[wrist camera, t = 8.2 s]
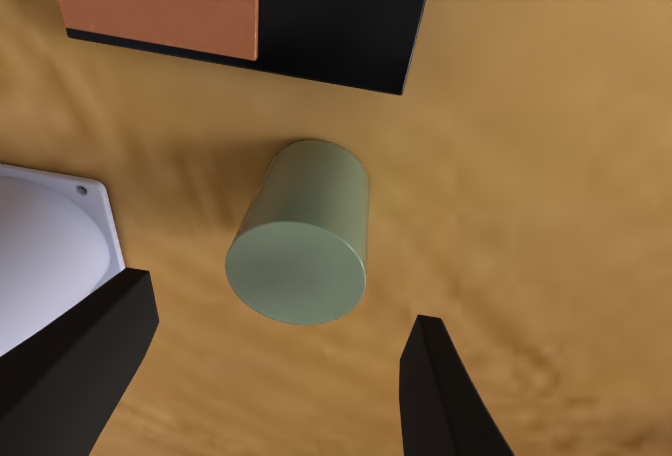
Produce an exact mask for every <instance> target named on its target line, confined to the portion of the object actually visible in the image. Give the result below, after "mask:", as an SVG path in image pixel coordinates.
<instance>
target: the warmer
mask: <svg viewBox="0 0 672 456" xmlns="http://www.w3.org/2000/svg"><path fill="white" fill-rule="evenodd" d="M425 2H426V0H259V3H258V48H257V59H256V60H255V61H254V60H248V59H242V58H236V57H231V56H225V55H219V54H214V53H208V52H202V51H196V50H191V49H185V48H179V47H174V46H168V45H162V44H156V43H151V42H145V41H139V40H134V39H128V38H122V37H116V36H111V35H105V34H99V33H94V32H88V31H82V30H76V29H71V28H66V31H67V35H68V37H69V38H73V39H79V40H85V41H90V42H96V43H102V44H108V45H113V46H119V47H125V48H131V49H136V50H142V51H148V52H153V53H159V54H165V55H171V56H176V57H182V58H188V59H194V60H199V61H205V62H211V63H216V64H222V65H228V66H234V67H239V68H245V69H251V70H257V71H262V72H268V73H274V74H279V75H285V76H291V77H297V78H302V79H308V80H314V81H320V82H325V83H331V84H337V85H343V86H348V87H354V88H360V89H365V90H371V91H377V92H383V93H388V94H394V95H402V94H403V91H404V87H405V83H406V79H407V75H408V71H409V67H410V63H411V59H412V55H413V51H414V47H415V43H416V39H417V35H418V31H419V26H420V22H421V18H422V14H423V10H424V6H425Z"/></svg>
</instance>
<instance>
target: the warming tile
mask: <svg viewBox="0 0 672 456" xmlns="http://www.w3.org/2000/svg"><path fill="white" fill-rule="evenodd" d="M58 3H59V7H60V11H61V16H62V20H63V24H64V27H65V28H71V29H76V30H82V31H88V32H94V33H99V34H105V35H111V36H116V37H122V38H128V39H134V40H139V41H145V42H151V43H156V44H162V45H168V46H174V47H179V48H185V49H191V50H196V51H202V52H208V53H214V54H219V55H225V56H231V57H236V58H242V59H248V60H254V61H255V60H256V59H257V48H258V3H259V0H58Z"/></svg>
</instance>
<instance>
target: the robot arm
mask: <svg viewBox="0 0 672 456" xmlns="http://www.w3.org/2000/svg"><path fill="white" fill-rule="evenodd" d="M81 186H83V187H84V188H85V189H86V190H84V189H83V188H82V187H81ZM88 294H90V295H88ZM158 324H159V317H158V312H157V307H156V302H155V297H154V292H153V287H152V282H151V277H150V272H149V271H145V270H139V269H133V268H127V267H126V268H125V265H124V261H123V257H122V252H121V248H120V244H119V240H118V236H117V232H116V228H115V224H114V220H113V215H112V211H111V207H110V203H109V199H108V195H107V191H106V188H105V186H104V185H103V184H102V183H101V182H99V181H97V180H94V179H89V178H83V177H77V176H71V175H65V174H59V173H53V172H47V171H41V170H35V169H30V168H24V167H18V166H12V165H6V164H0V456H89V454H90V452H91V450H92V448H93V446H94V444H95V442H96V441H97V439H98V437H99V435H100V433H101V432H102V430H103V428H104V426H105V425H106V423H107V421H108V420H109V418H110V416H111V414H112V413H113V411H114V409H115V407H116V406H117V404H118V402H119V401H120V399H121V397H122V395H123V394H124V392H125V390H126V389H127V387H128V385H129V383H130V382H131V380H132V378H133V376H134V375H135V373H136V371H137V369H138V367H139V366H140V364H141V362H142V360H143V359H144V357H145V354H146V352H147V350H148V348H149V345H150V343H151V341H152V338H153V336H154V333H155V331H156V329H157V326H158ZM399 403H400V415H401V426H402V438H403V449H404V456H515V454H514V453H513V451H512V450H511V448H510V447H509V445H508V443H507V442H506V440H505V439H504V437H503V435H502V434H501V432H500V430H499V429H498V427H497V425H496V424H495V422H494V420H493V419H492V417H491V415H490V413H489V412H488V410H487V408H486V406H485V405H484V403H483V401H482V399H481V397H480V395H479V394H478V392H477V390H476V388H475V386H474V384H473V382H472V381H471V379H470V377H469V375H468V373H467V371H466V369H465V367H464V365H463V363H462V361H461V359H460V357H459V355H458V353H457V351H456V349H455V346H454V344H453V342H452V340H451V338H450V336H449V334H448V331H447V329H446V327H445V325H444V322H443V321H442V319H441V318H437V317H430V316H424V315H418V316H417V318H416V321H415V323H414V326H413V328H412V331H411V333H410V336H409V338H408V341H407V343H406V346H405V348H404V351H403V353H402V356H401V358H400V374H399Z"/></svg>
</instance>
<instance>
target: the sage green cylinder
mask: <svg viewBox="0 0 672 456" xmlns="http://www.w3.org/2000/svg"><path fill="white" fill-rule="evenodd" d="M369 195H370V186H369V180H368V177H367V174H366V172H365V170H364V168H363V166H362V165H361V163H360V162H359V161H358V160H357V158H356V157H355V156H353V155H352V154H351V153H350V152H348V151H347V150H345V149H344V148H342V147H340V146H338V145H336V144H333V143H330V142H326V141H319V140H307V141H300V142H297V143H293V144H291V145H289V146H287V147H285V148H283V149H282V150H281V151H279V152H278V153H277V154H276V155H275V156H274V157H273V159H272V160H271V162H270V163H269V165H268V167H267V169H266V172H265V174H264V176H263V178H262V180H261V182H260V184H259V186H258V189H257V191H256V193H255V195H254V197H253V199H252V201H251V203H250V206H249V208H248V210H247V212H246V214H245V216H244V218H243V221H242V223H241V225H240V227H239V229H238V231H237V233H236V235H235V238H234V240H233V242H232V244H231V246H230V248H229V250H228V253H227V256H226V263H225V268H226V275H227V278H228V281H229V283H230V285H231V287H232V289H233V290H234V292H235V293H236V295H237V296H238V297H239V298H240V299H241V300H242V301H243V302H244V303H245V304H246V305H248V306H249V307H250V308H252V309H253V310H255V311H256V312H258V313H260V314H262V315H264V316H266V317H268V318H271V319H273V320H276V321H280V322H284V323H288V324H296V325H316V324H323V323H327V322H330V321H333V320H336V319H338V318H340V317H342V316H344V315H346V314H347V313H349V312H350V311H351V310H352V309H353V308H354V307H355V306H356V305H357V304H358V303H359V301H360V300H361V298H362V296H363V294H364V291H365V287H366V274H367V248H368V221H369Z"/></svg>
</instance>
